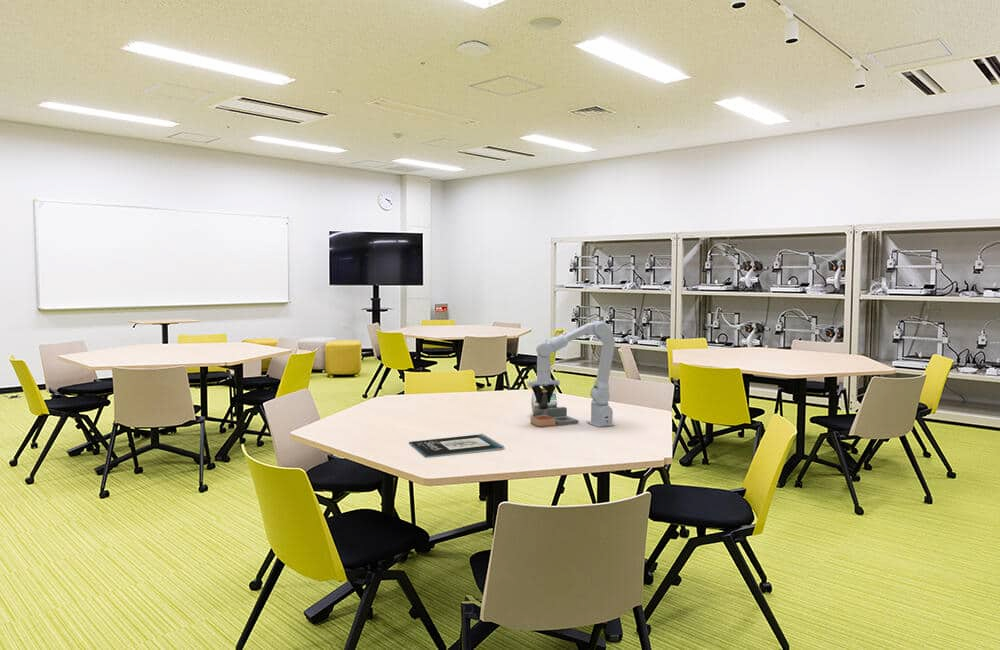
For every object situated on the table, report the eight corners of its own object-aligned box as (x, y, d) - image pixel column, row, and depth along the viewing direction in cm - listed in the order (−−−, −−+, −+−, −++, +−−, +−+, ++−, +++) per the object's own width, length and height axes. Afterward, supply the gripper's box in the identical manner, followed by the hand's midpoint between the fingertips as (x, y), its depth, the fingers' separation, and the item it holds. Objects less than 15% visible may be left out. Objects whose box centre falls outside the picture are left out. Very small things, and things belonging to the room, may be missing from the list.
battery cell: (549, 408, 284) (549, 389, 284) (541, 409, 283) (541, 389, 282) (545, 407, 288) (545, 387, 287) (536, 407, 286) (536, 388, 286)
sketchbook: (408, 445, 252) (408, 439, 252) (483, 438, 264) (483, 432, 264) (425, 459, 232) (425, 453, 232) (505, 450, 244) (505, 445, 244)
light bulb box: (553, 401, 308) (555, 390, 299) (555, 414, 304) (558, 403, 295) (530, 403, 307) (531, 392, 298) (532, 416, 303) (533, 405, 294)
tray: (555, 425, 284) (555, 418, 284) (539, 427, 281) (539, 420, 280) (546, 422, 291) (546, 415, 291) (530, 423, 288) (530, 416, 287)
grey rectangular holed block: (578, 423, 288) (578, 411, 288) (557, 425, 284) (558, 413, 284) (563, 417, 300) (563, 406, 300) (543, 419, 296) (543, 407, 296)
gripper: (554, 368, 291) (553, 400, 292) (524, 370, 285) (523, 402, 286) (562, 371, 284) (561, 402, 285) (531, 372, 278) (531, 405, 279)
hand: (543, 402), depth 285 cm, fingers closed on battery cell, 4 cm apart
